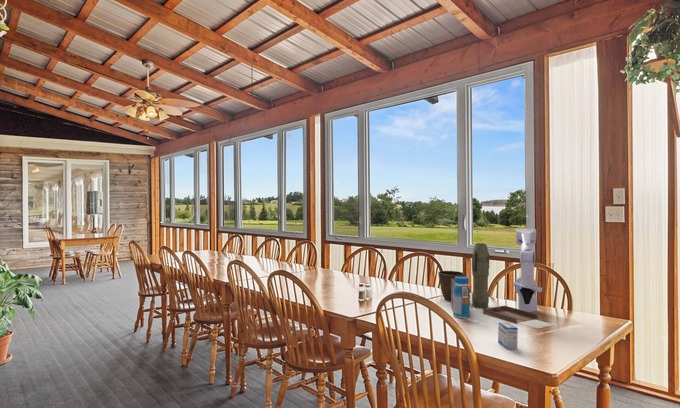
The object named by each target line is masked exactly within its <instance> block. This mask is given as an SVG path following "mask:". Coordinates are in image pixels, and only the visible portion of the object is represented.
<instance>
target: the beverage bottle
mask: <svg viewBox="0 0 680 408" xmlns="http://www.w3.org/2000/svg"><path fill="white" fill-rule="evenodd" d="M469 282H470V281H469V277H468V276H465V275H464V276H456V277H455V284H456V285H455V287H454V289H453V291H454V293H453V311H452V315H453V316H454V317H455V318H459V319H467V318H468V317H470V315H471V314H470V313H471V312H470V311H471V309H470V308H471V307H470V304H471V294H470V292H471V289H470V287H469Z"/></svg>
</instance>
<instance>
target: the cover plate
mask: <svg viewBox="0 0 680 408" xmlns="http://www.w3.org/2000/svg"><path fill="white" fill-rule="evenodd" d="M519 324H522V325H525V326H528V327H531V328H534V329H536V330H537V329H542V328H548V327H552V326H555V324H554V323H549V322H546V321H542V320H538V319H535V320H530V321H525V322H520V323H519Z"/></svg>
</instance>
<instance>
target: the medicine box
mask: <svg viewBox="0 0 680 408" xmlns="http://www.w3.org/2000/svg"><path fill="white" fill-rule="evenodd" d="M518 329H519V328H518V327H517V326H515V325H513V324H511V322H509V321H499V322H498V329H497V330H498V331H497V333H498V334H497V336H498V337H497V343H498V344H499V343H500V344H499V345H500V346H502V347H503V348H505V349H506V350H517V349H518V341H519V340H518V334H519V333H518V332H519V331H518Z"/></svg>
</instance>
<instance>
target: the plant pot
mask: <svg viewBox="0 0 680 408" xmlns="http://www.w3.org/2000/svg"><path fill="white" fill-rule="evenodd" d="M456 276H465V273H464V272H461V271H455V270H440V271H438V281H439V285H440V289H441V290H440V291H441V293H442V296H443V299H444V300H445V301H450V302H451V279H455V277H456Z"/></svg>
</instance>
